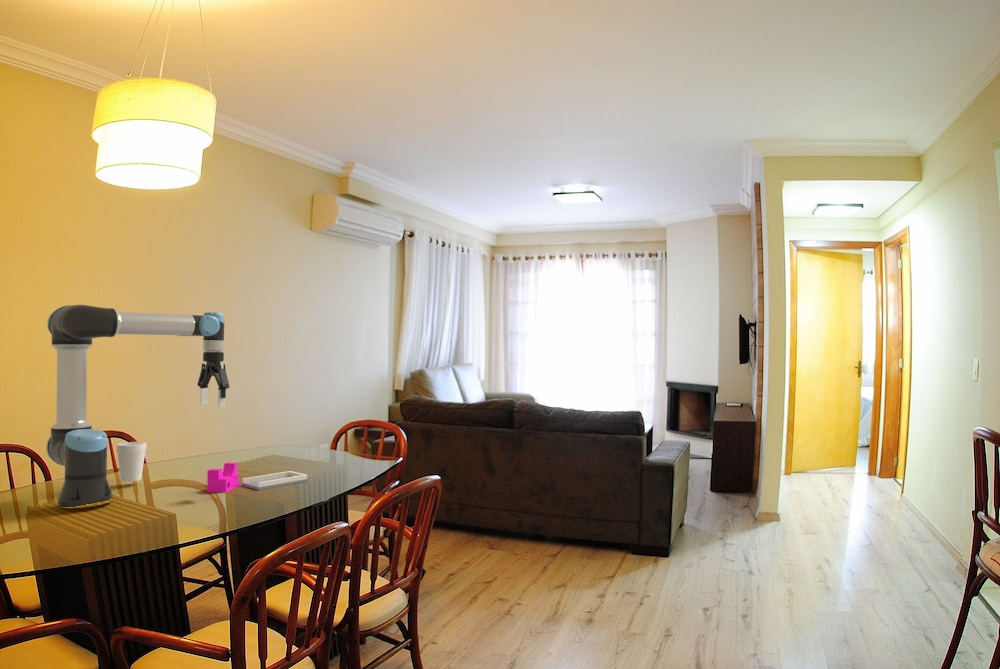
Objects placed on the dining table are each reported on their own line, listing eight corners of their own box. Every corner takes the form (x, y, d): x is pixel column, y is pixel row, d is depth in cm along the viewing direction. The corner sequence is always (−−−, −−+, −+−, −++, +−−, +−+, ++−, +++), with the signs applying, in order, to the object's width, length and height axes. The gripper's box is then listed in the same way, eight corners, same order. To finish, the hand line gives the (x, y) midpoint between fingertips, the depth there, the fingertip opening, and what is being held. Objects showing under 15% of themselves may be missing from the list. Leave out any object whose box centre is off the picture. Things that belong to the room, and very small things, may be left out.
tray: (258, 490, 227) (259, 482, 227) (241, 485, 234) (241, 478, 234) (307, 481, 241) (307, 474, 242) (289, 477, 249) (289, 471, 249)
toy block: (225, 493, 224) (226, 470, 224) (207, 492, 224) (207, 470, 224) (244, 483, 239) (244, 462, 239) (226, 483, 239) (226, 462, 239)
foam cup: (132, 483, 238) (133, 446, 238) (109, 481, 240) (110, 445, 240) (151, 477, 247) (152, 442, 247) (129, 476, 249) (130, 441, 249)
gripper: (239, 351, 260) (238, 406, 260) (206, 351, 276) (206, 403, 275) (220, 351, 254) (219, 408, 254) (188, 351, 270) (188, 404, 270)
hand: (212, 405), depth 265 cm, fingers open, 13 cm apart
